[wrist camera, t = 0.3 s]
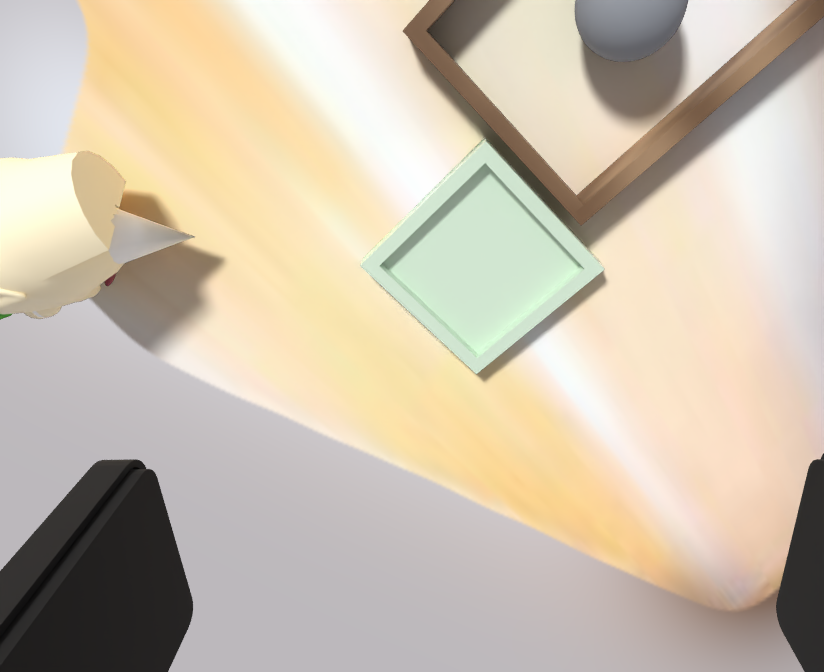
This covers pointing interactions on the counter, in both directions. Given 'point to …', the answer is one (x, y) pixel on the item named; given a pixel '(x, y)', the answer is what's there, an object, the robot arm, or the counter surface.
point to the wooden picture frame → (677, 124)
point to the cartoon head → (66, 231)
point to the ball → (628, 26)
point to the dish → (481, 259)
